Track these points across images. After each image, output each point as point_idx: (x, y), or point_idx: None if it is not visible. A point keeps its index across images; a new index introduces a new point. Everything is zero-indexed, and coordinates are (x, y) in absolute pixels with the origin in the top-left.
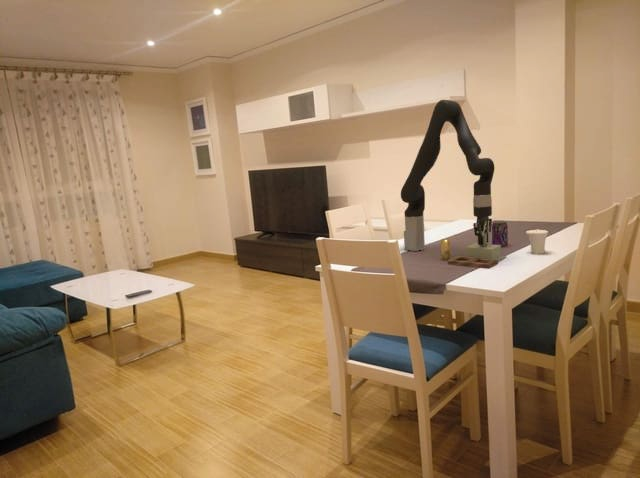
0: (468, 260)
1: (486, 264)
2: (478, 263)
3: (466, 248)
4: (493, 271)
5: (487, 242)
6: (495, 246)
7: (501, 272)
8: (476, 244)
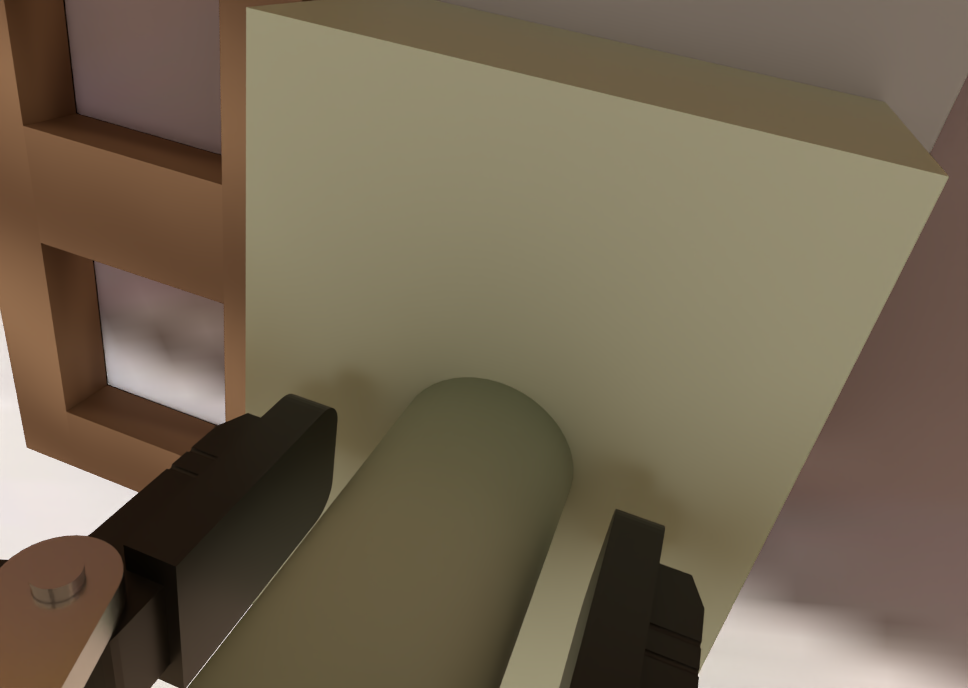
0: (84, 146)
1: (23, 421)
2: (12, 325)
3: (267, 32)
4: (4, 462)
5: (582, 604)
6: (505, 672)
7: (15, 525)
8: (718, 266)
